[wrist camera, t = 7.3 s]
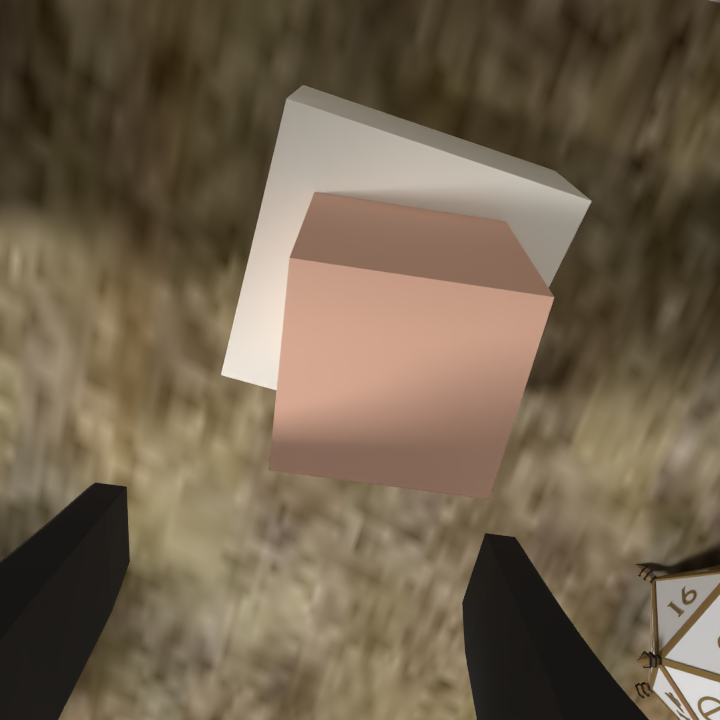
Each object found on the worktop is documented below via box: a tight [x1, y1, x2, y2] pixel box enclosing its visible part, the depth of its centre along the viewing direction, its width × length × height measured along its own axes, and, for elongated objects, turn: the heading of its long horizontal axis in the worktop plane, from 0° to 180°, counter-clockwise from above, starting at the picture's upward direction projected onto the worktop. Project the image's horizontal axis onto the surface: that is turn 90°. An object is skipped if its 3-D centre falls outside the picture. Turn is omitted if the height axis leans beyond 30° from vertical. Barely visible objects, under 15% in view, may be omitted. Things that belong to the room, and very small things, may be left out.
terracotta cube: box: [269, 192, 554, 499], centre depth 15 cm, size 5×5×5 cm
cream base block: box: [221, 85, 591, 390], centre depth 19 cm, size 8×8×4 cm
